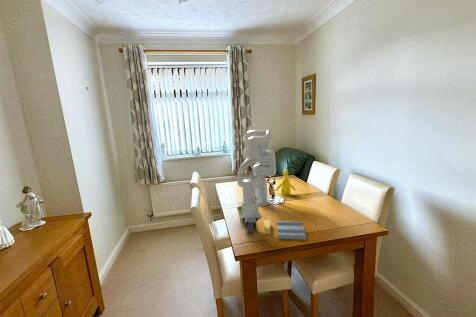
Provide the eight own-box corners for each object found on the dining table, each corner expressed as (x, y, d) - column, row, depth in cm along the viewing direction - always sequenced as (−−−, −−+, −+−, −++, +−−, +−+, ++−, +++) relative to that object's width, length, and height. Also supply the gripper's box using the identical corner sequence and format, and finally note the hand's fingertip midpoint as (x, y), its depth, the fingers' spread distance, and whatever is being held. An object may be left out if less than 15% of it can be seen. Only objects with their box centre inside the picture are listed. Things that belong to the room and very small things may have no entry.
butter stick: (264, 225, 144) (264, 219, 144) (270, 225, 144) (270, 219, 143) (264, 234, 134) (264, 228, 133) (270, 234, 133) (270, 228, 133)
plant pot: (243, 216, 159) (242, 204, 157) (254, 219, 153) (254, 207, 152) (234, 221, 152) (234, 208, 150) (246, 224, 146) (245, 212, 144)
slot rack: (277, 225, 143) (277, 221, 143) (302, 225, 141) (302, 221, 141) (278, 238, 128) (278, 234, 127) (306, 239, 126) (306, 235, 125)
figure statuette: (295, 192, 200) (295, 167, 196) (297, 195, 193) (296, 170, 188) (274, 193, 201) (274, 168, 197) (275, 196, 194) (275, 170, 190)
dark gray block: (248, 223, 146) (248, 218, 145) (254, 223, 146) (254, 218, 145) (247, 232, 135) (247, 226, 135) (253, 233, 135) (252, 226, 134)
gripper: (263, 197, 139) (264, 225, 143) (236, 197, 142) (238, 224, 145) (263, 201, 132) (264, 231, 136) (234, 202, 134) (236, 230, 138)
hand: (251, 227), depth 140 cm, fingers closed on dark gray block, 3 cm apart
